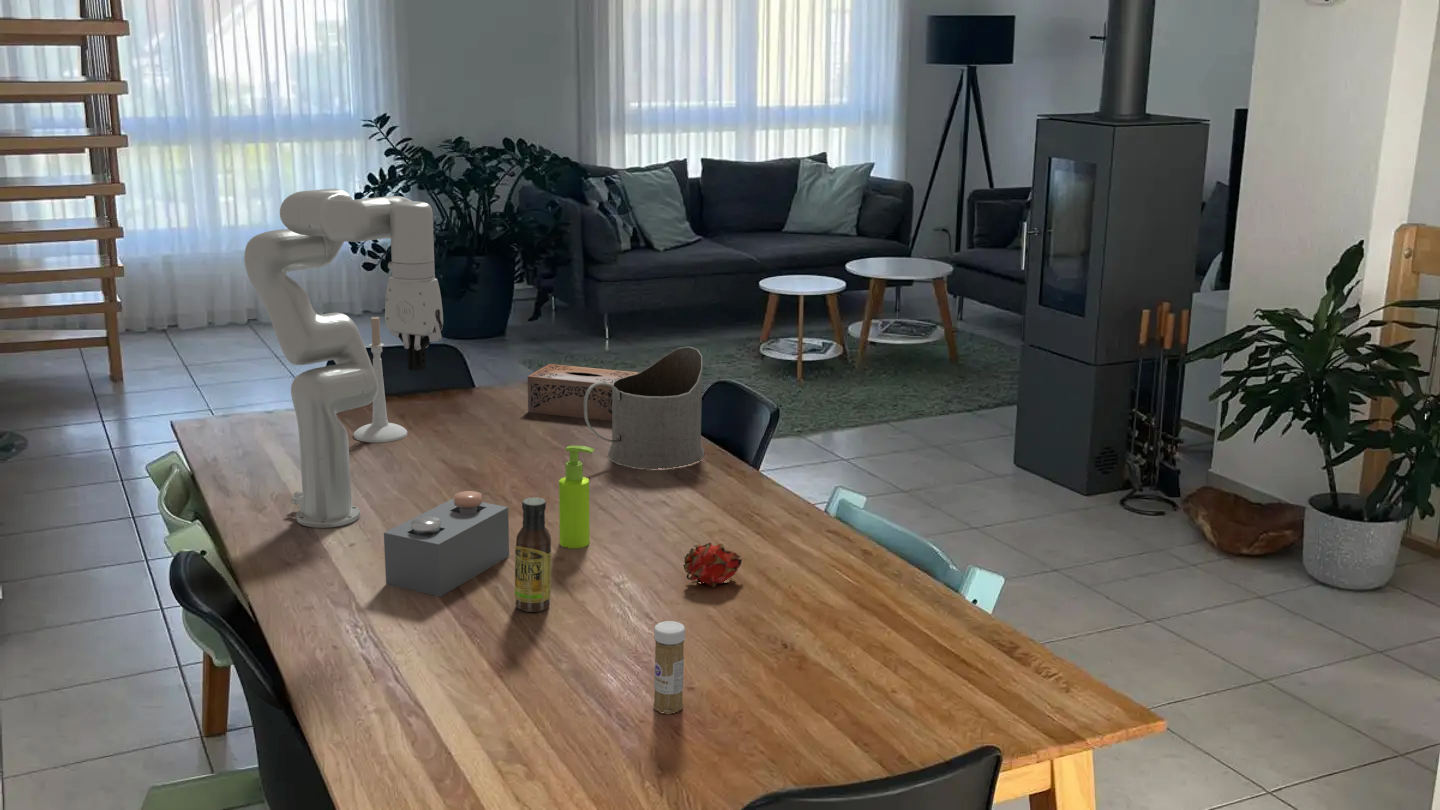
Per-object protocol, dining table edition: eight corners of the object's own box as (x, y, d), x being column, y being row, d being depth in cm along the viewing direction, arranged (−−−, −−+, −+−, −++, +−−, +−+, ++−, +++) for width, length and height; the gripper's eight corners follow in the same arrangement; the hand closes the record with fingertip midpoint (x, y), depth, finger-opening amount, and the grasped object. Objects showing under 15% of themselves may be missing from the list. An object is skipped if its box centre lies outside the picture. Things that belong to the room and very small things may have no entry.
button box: (386, 584, 250) (383, 532, 248) (457, 545, 270) (456, 497, 267) (440, 596, 246) (438, 544, 243) (509, 556, 265) (508, 507, 262)
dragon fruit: (676, 593, 253) (735, 593, 258) (694, 582, 246) (754, 582, 251) (671, 549, 256) (730, 549, 261) (690, 536, 249) (749, 537, 254)
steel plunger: (406, 562, 250) (405, 523, 248) (424, 553, 254) (423, 515, 252) (430, 567, 248) (428, 528, 246) (447, 558, 252) (446, 519, 250)
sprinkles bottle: (647, 708, 207) (647, 626, 204) (667, 698, 211) (668, 617, 207) (669, 718, 205) (670, 635, 201) (689, 707, 208) (691, 625, 204)
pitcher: (724, 459, 327) (726, 356, 320) (612, 483, 308) (612, 375, 301) (668, 435, 345) (669, 338, 338) (558, 456, 326) (557, 354, 319)
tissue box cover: (528, 413, 362) (527, 376, 359) (549, 399, 376) (549, 363, 373) (620, 422, 355) (620, 385, 353) (638, 408, 369) (639, 372, 366)
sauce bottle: (508, 610, 241) (506, 503, 235) (526, 597, 246) (524, 492, 241) (541, 616, 238) (539, 508, 233) (558, 603, 244) (557, 497, 239)
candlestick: (400, 443, 333) (395, 321, 325) (347, 441, 333) (341, 320, 325) (412, 428, 346) (407, 311, 338) (361, 427, 346) (355, 309, 338)
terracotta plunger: (449, 534, 261) (448, 497, 259) (465, 526, 265) (464, 489, 263) (472, 539, 259) (471, 501, 257) (488, 530, 263) (487, 493, 261)
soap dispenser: (589, 550, 269) (589, 452, 263) (555, 546, 270) (554, 449, 265) (598, 539, 274) (598, 443, 269) (564, 536, 276) (564, 441, 270)
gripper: (366, 270, 248) (371, 368, 253) (434, 277, 242) (438, 378, 247) (393, 264, 255) (397, 360, 260) (459, 271, 249) (462, 370, 254)
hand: (417, 369), depth 254 cm, fingers closed
